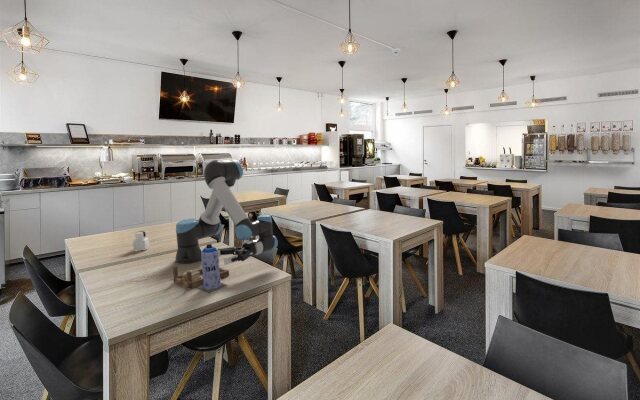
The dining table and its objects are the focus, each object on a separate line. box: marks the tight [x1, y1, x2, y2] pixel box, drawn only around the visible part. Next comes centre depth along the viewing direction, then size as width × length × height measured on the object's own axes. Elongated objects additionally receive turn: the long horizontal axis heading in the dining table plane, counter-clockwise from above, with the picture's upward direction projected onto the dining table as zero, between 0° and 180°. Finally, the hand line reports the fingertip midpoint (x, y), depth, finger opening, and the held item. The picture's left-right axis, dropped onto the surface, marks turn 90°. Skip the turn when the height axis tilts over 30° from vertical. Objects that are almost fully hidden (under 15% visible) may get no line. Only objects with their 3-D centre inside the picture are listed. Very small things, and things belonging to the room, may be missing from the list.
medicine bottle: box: [132, 230, 150, 252], centre depth 226 cm, size 7×7×12 cm
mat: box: [196, 281, 228, 294], centre depth 162 cm, size 10×10×1 cm
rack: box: [172, 265, 230, 290], centre depth 172 cm, size 14×22×8 cm, turn 141°
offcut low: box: [182, 276, 202, 282], centre depth 168 cm, size 7×6×3 cm
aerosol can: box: [201, 243, 222, 289], centre depth 161 cm, size 8×8×20 cm
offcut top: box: [182, 269, 201, 280], centre depth 167 cm, size 6×5×2 cm
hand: (216, 259), depth 163 cm, fingers open, 13 cm apart
